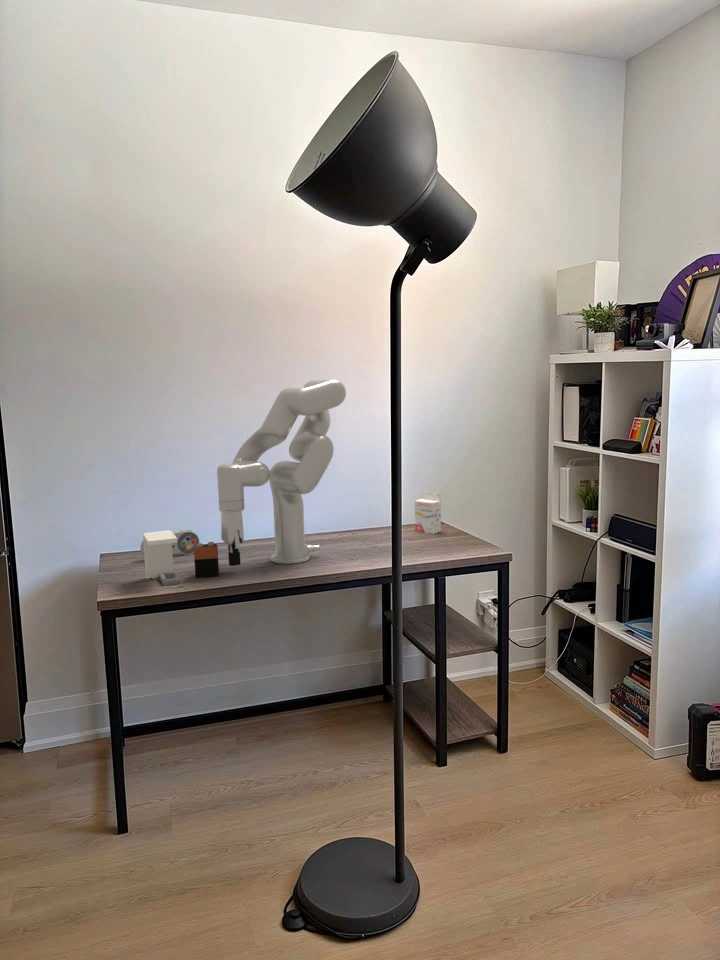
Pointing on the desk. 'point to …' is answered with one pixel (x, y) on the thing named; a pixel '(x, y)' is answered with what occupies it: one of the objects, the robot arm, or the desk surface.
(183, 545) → the game controller
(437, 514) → the ink cartridge box
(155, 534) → the overhang shelf
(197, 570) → the battery
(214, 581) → the desk surface
